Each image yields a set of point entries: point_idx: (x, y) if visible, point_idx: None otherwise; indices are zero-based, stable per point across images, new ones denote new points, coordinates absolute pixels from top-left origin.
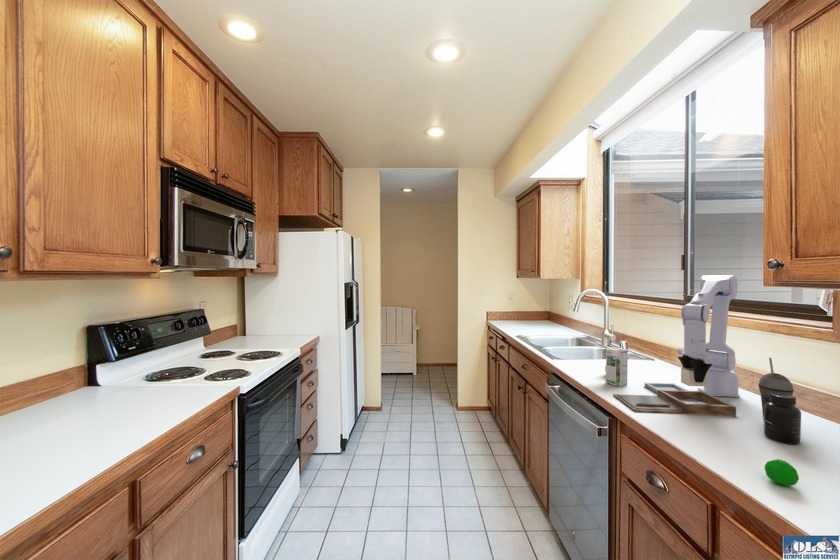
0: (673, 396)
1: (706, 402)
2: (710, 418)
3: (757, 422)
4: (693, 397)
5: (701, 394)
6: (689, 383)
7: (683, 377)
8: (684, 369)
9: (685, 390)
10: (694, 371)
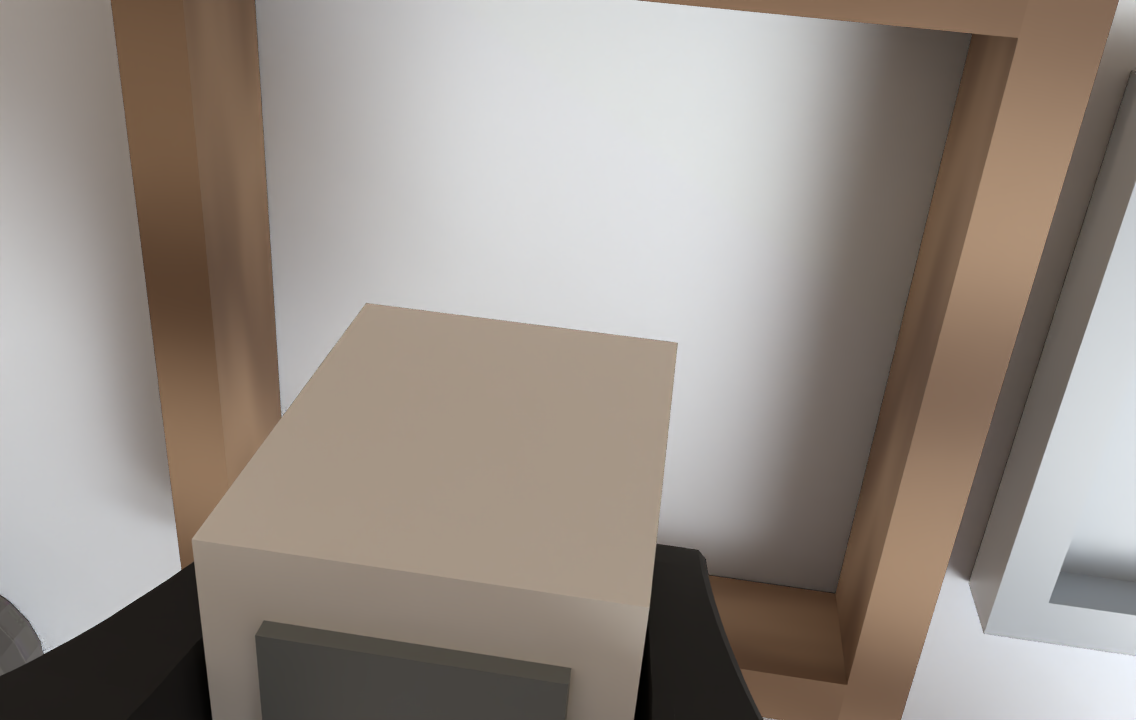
0: (940, 221)
1: (712, 578)
2: (60, 142)
3: (65, 593)
4: (859, 523)
5: (829, 654)
6: (343, 346)
7: (548, 409)
8: (443, 568)
9: (1134, 612)
10: (145, 649)
